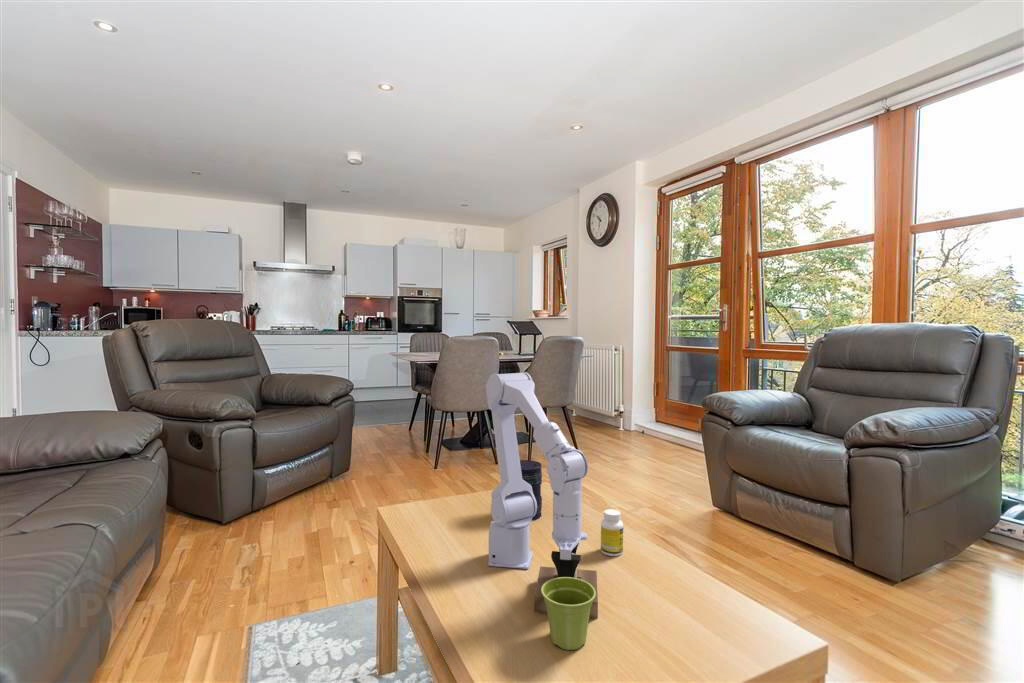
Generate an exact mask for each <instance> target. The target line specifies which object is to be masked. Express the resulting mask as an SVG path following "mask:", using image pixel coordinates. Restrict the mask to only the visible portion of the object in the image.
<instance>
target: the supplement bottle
mask: <svg viewBox="0 0 1024 683" xmlns="http://www.w3.org/2000/svg"><path fill="white" fill-rule="evenodd" d="M621 515H622V514H621V511H619V510H617V509H612V508H610V509H609V508H608V509H605V510H604V511H603V519H602V520H601V522H600V551H601V553H602V554H604V555H605V556H608V557H609V556H610V557H619V556H621V555H622V554H623V553H624V523H623V520H621Z"/></svg>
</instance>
